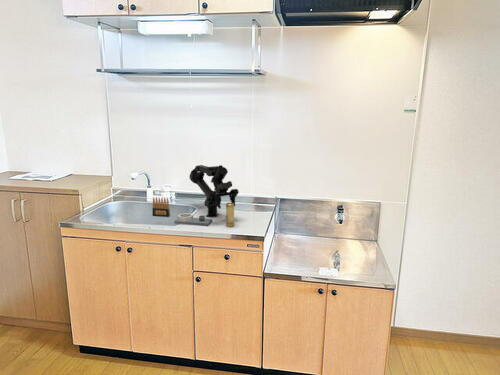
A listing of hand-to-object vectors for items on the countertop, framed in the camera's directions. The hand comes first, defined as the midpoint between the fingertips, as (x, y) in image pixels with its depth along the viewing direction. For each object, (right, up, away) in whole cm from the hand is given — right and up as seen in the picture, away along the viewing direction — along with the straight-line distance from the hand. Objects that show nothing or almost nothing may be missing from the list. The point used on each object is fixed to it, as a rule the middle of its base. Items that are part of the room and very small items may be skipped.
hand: (227, 207), depth 211 cm
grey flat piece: (-20, -9, +5) cm, 22 cm away
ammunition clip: (-41, -6, +16) cm, 45 cm away
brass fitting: (+1, -11, 0) cm, 11 cm away
